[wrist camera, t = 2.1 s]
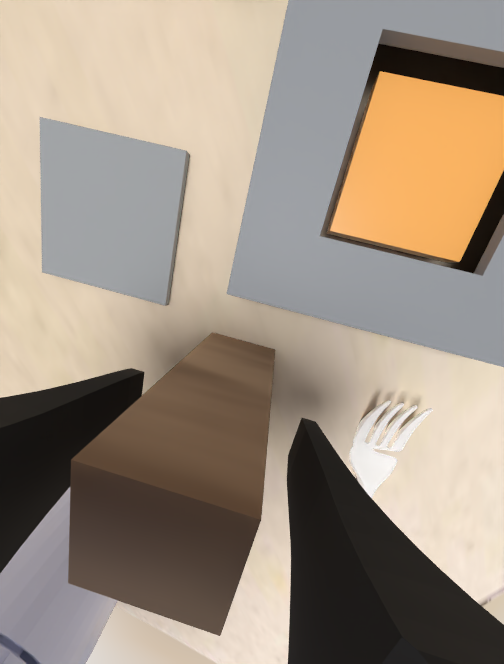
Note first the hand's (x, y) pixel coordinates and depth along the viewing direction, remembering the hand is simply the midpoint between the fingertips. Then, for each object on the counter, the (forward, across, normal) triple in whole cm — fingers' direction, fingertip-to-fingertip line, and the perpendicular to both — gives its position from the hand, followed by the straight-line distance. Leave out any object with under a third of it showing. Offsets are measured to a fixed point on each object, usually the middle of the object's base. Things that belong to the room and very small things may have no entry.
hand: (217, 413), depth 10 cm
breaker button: (+3, -5, -11) cm, 13 cm away
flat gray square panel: (+5, +9, -7) cm, 12 cm away
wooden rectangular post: (+5, 0, 0) cm, 5 cm away
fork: (+5, -10, +8) cm, 14 cm away
